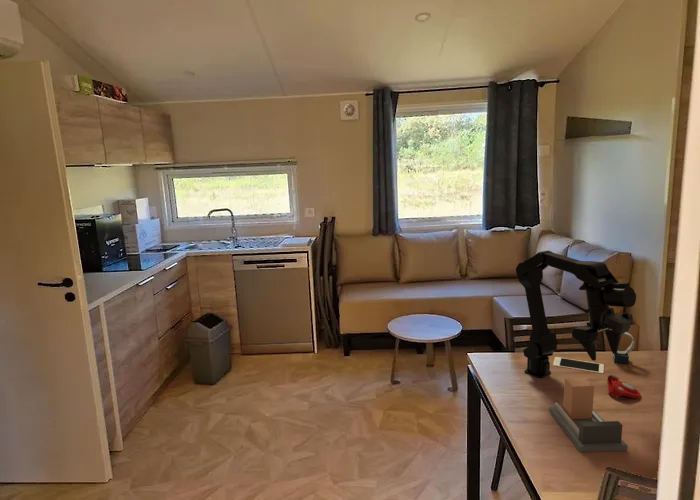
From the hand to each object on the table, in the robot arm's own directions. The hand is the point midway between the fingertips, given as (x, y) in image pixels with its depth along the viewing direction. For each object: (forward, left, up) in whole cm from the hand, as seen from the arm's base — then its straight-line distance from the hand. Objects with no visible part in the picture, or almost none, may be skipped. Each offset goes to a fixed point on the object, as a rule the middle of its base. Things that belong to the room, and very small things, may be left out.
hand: (604, 357), depth 143 cm
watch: (-10, +34, -16) cm, 39 cm away
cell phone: (-18, +20, -16) cm, 32 cm away
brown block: (0, -14, -14) cm, 19 cm away
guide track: (+4, -17, -15) cm, 23 cm away
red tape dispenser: (0, +13, -16) cm, 20 cm away
